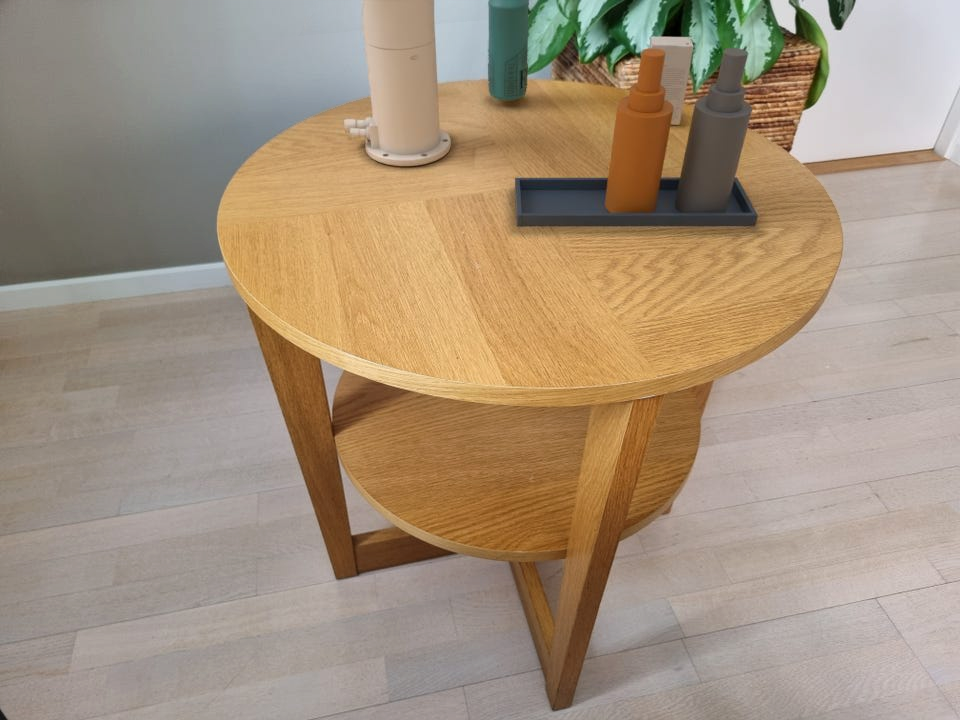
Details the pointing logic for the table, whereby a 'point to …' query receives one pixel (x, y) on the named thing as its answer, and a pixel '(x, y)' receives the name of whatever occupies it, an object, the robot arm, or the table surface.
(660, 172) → the amber bottle
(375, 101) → the robot arm
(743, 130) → the grey bottle
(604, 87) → the table surface
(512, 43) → the beverage bottle
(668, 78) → the cosmetic box
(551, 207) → the tray
